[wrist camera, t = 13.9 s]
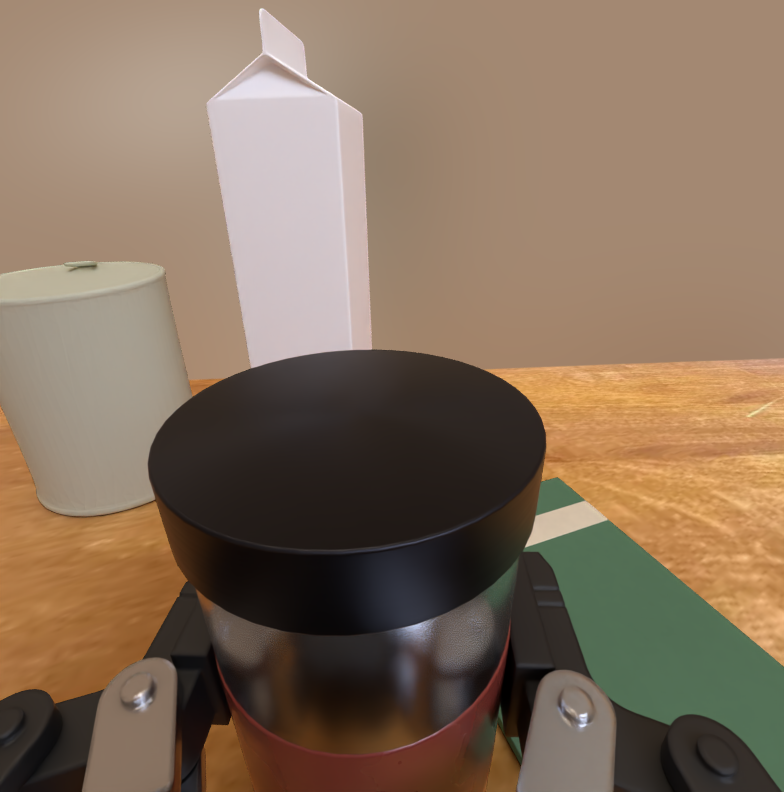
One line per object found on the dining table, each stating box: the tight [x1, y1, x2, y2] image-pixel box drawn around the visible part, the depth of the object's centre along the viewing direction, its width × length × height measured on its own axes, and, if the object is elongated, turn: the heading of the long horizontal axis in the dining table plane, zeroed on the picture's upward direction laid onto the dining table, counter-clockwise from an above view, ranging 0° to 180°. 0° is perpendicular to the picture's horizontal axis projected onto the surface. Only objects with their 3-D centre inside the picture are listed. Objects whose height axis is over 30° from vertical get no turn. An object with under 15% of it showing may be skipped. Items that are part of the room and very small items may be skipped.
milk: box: [206, 8, 372, 368], centre depth 26 cm, size 6×6×22 cm
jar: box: [148, 350, 546, 792], centre depth 10 cm, size 6×6×12 cm
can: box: [0, 261, 193, 516], centre depth 25 cm, size 9×9×12 cm
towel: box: [498, 477, 784, 792], centre depth 16 cm, size 10×20×1 cm, turn 21°
